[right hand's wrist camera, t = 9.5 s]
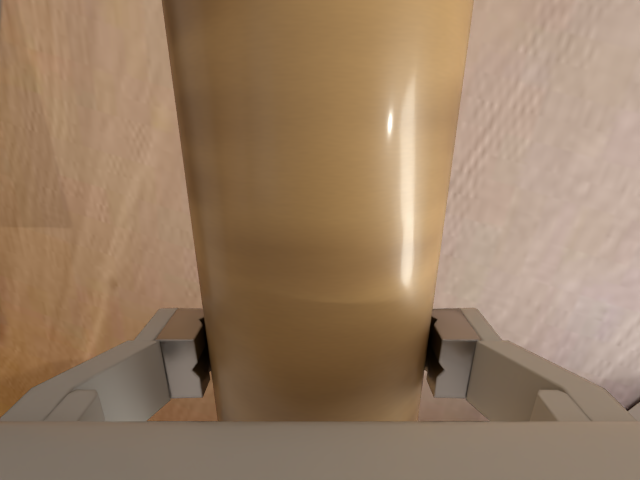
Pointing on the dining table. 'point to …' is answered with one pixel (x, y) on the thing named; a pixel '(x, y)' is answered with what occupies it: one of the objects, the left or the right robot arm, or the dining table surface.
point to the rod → (317, 195)
